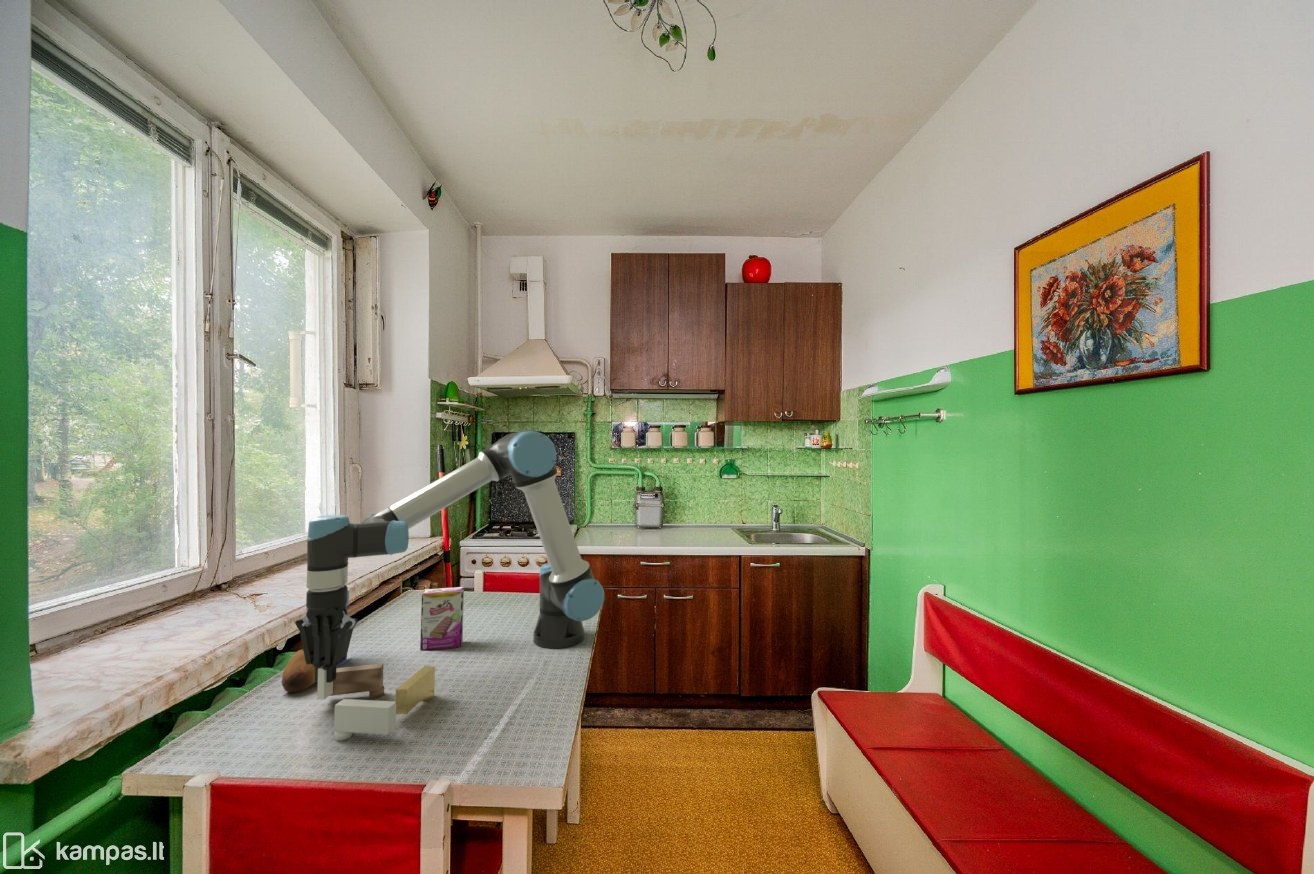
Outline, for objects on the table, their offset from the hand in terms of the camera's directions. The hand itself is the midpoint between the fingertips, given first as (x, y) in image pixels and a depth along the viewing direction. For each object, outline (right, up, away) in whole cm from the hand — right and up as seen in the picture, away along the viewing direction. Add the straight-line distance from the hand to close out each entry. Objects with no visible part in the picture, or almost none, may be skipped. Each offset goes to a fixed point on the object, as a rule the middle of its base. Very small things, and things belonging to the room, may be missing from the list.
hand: (325, 696), depth 109 cm
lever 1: (+4, -2, +4) cm, 6 cm away
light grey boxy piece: (+15, -2, -11) cm, 19 cm away
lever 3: (+20, -3, 0) cm, 20 cm away
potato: (-12, -4, +11) cm, 17 cm away
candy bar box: (+10, -5, +36) cm, 38 cm away
